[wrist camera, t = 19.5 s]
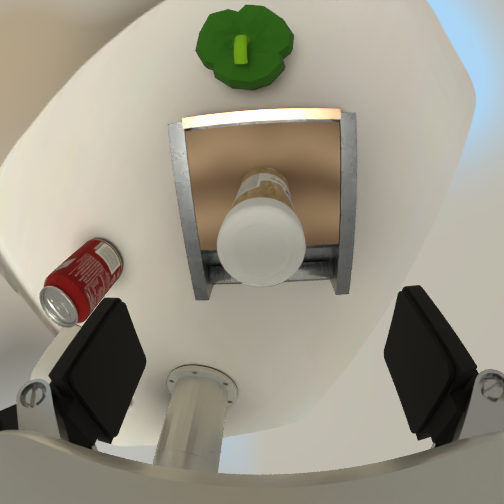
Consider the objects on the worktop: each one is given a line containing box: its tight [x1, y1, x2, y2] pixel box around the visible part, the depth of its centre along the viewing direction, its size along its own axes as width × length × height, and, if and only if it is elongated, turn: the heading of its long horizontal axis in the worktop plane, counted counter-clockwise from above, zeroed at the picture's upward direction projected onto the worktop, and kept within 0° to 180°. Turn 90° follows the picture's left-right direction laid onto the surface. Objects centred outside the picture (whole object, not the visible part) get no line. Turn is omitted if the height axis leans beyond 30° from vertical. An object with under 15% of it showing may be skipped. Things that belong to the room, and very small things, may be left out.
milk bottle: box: [30, 325, 81, 384], centre depth 36 cm, size 8×8×20 cm
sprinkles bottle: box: [217, 167, 306, 287], centre depth 21 cm, size 5×5×14 cm
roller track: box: [168, 108, 357, 300], centre depth 30 cm, size 20×18×5 cm
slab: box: [185, 122, 340, 250], centre depth 28 cm, size 12×14×2 cm
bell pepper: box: [195, 5, 294, 90], centre depth 21 cm, size 8×8×10 cm
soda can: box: [40, 239, 122, 328], centre depth 31 cm, size 7×7×12 cm
